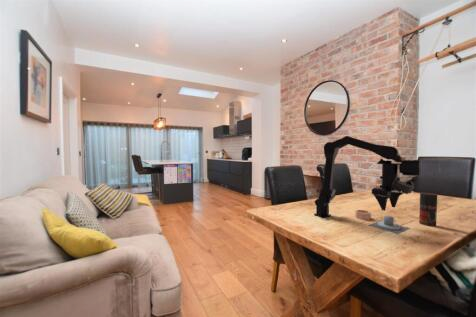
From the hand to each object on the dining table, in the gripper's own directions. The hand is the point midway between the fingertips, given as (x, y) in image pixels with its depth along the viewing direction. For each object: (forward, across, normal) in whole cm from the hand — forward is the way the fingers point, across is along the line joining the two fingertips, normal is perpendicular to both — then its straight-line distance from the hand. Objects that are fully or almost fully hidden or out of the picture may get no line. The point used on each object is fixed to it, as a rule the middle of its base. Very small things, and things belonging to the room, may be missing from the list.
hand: (388, 208), depth 96 cm
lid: (+8, 0, 0) cm, 8 cm away
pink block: (+9, +3, +13) cm, 16 cm away
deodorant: (+9, +19, -8) cm, 23 cm away
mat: (+9, 0, 0) cm, 9 cm away
